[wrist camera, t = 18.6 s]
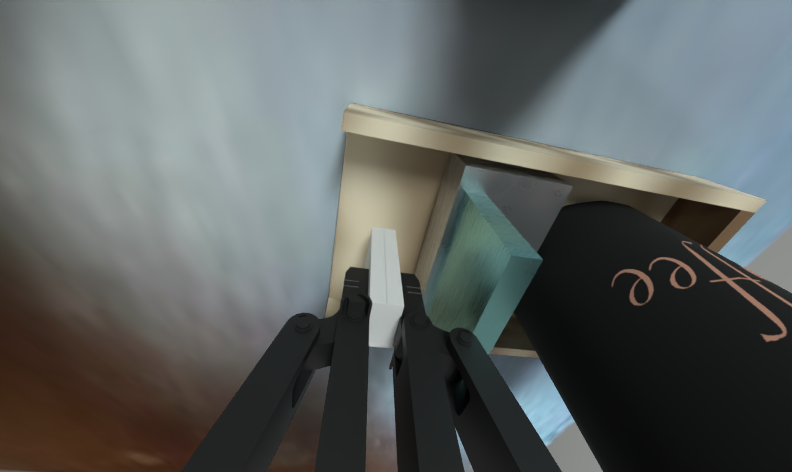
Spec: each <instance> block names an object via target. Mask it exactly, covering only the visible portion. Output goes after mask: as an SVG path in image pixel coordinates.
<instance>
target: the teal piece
mask: <svg viewBox="0 0 792 472" xmlns="http://www.w3.org/2000/svg"><path fill="white" fill-rule="evenodd" d="M572 188H573V186H572V185H571V184H569V183H567V182H566V181H564V180H562V179H560V178H559V177H557V176H555V175H554V174H552V173H550V172H547V171H542V170H537V169H532V168H527V167H522V166H517V165H512V164H507V163H502V162H496V161H491V160H486V159H481V158H476V157H471V156H466V155H461V154H456V153H451V152H450V155H449V159H448V162H447V166H446V169H445V172H444V176H443V179H442V182H441V186H440V189H439V192H438V196H437V199H436V203H435V206H434V209H433V213H432V216H431V219H430V223H429V226H428V229H427V233H426V236H425V240H424V243H423V246H422V250H421V253H420V256H419V260H418V263H417V267H416V270H415V273H414V274H415V276H416V277H417V278H418V280H419V282H420V287H421V288H420V289H421V292H422V297H423V302H424V307H425V312H426V315H427V316H428V317H429V318H430V319H431V322H432V324H433V325H434V326H436V327H438V328H440V329H442V330H445V331H448V332H451V330H452V329H454V328H457V327H459V328H465V329H467V330H469V331H471V332H472V333H473V334H474V335H475V336H476V337H477V338H478V340H479V342H480V343H481V345H482V346H483V348H484V349H485V351H486V353H487V354H488V356H489V354H490V352H491V350H492V349H493V347H494V345H495V343H496V342H497V340H498V338H499V336H500V335H501V333H502V331H503V329H504V328H505V326H506V324H507V322H508V321H509V319H510V317H511V315H512V314H513V312H514V310H515V308H516V307H517V305H518V303H519V301H520V300H521V298H522V296H523V294H524V293H525V291H526V289H527V287H528V286H529V284H530V282H531V280H532V279H533V277H534V275H535V273H536V272H537V270H538V268H539V266H540V265H541V263H542V261H543V259H542V258H541V257H540V256H539V254H538V253H537V252H538V250H539V248H540V246H541V244H542V243H543V241H544V239H545V237H546V235H547V233H548V232H549V230H550V228H551V226H552V224H553V222H554V221H555V219H556V217H557V215H558V213H559V212H560V210H561V208H562V206H563V204H564V202H565V201H566V199H567V197H568V195H569V193H570V192H571V190H572Z"/></svg>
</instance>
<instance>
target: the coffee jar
mask: <svg viewBox="0 0 792 472" xmlns="http://www.w3.org/2000/svg"><path fill="white" fill-rule="evenodd" d="M537 253H538V254H539V256H540V257H541V258H542V259H543V261H542V263H541V265H540V266H539V268H538V270H537V272H536V273H535V275H534V277H533V279H532V280H531V282H530V284H529V286H528V287H527V289H526V291H525V293H524V294H523V296H522V298H521V300H520V301H519V303H518V305H517V307H516V308H515V310H514V314H515V316H516V317H517V319H518V321H519V323H520V324H521V326H522V328H523V330H524V332H525V333H526V335H527V337H528V339H529V340H530V342H531V344H532V346H533V348H534V349H535V351H536V353H537V355H538V356H539V358H540V360H541V362H542V364H543V365H544V367H545V369H546V371H547V372H548V374H549V376H550V378H551V380H552V381H553V383H554V385H555V387H556V389H557V390H558V392H559V394H560V396H561V397H562V399H563V401H564V403H565V405H566V406H567V408H568V410H569V412H570V413H571V415H572V417H573V419H574V421H575V422H576V424H577V426H578V428H579V429H580V431H581V433H582V435H583V437H584V438H585V440H586V442H587V443H588V445H589V447H590V449H591V451H592V452H593V454H594V456H595V458H596V460H597V461H598V463H599V465H600V467H601V469H602V470H603V472H792V293H790V292H788V291H787V290H785V289H783V288H781V287H779V286H777V285H775V284H773V283H772V282H770V281H768V280H766V279H764V278H762V277H761V276H759V275H757V274H755V273H753V272H751V271H749V270H747V269H746V268H744V267H742V266H740V265H738V264H736V263H735V262H733V261H731V260H729V259H727V258H725V257H723V256H722V255H720V254H718V253H716V252H714V251H712V250H710V249H709V248H707V247H705V246H703V245H701V244H699V243H697V242H696V241H694V240H692V239H690V238H688V237H686V236H684V235H683V234H681V233H679V232H677V231H675V230H673V229H672V228H670V227H668V226H666V225H664V224H662V223H660V222H659V221H657V220H655V219H653V218H651V217H649V216H647V215H646V214H644V213H642V212H640V211H638V210H636V209H634V208H633V207H631V206H629V205H625V204H620V203H615V202H609V201H592V202H584V203H576V204H571V205H566V206H564V207H562V208H561V210H560V212H559V213H558V215H557V217H556V219H555V221H554V222H553V224H552V226H551V228H550V230H549V232H548V233H547V235H546V237H545V239H544V241H543V243H542V244H541V246H540V248H539V250H538V252H537Z"/></svg>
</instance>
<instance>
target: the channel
mask: <svg viewBox="0 0 792 472" xmlns="http://www.w3.org/2000/svg"><path fill="white" fill-rule="evenodd" d="M342 131H345V132H347V136H346V145H345V154H344V163H343V172H342V182H341V191H340V200H339V209H338V218H337V227H336V237H335V246H334V255H333V264H332V273H331V282H330V292H329V299H328V304H327V309H326V313H325V318H328V317H331V316H333V315H334V314H336V313H337V312H338V310H339V308H340V303H341V299H342V292H343V286H344V279H345V273H346V271H347V270H348V269H349V268H350V267H357V268H365V263H366V257H367V251H368V246H369V240H370V235H371V230H372V227H378V228H384V229H391V230H396V239H397V248H398V256H399V265H400V272H401V273H409V274H414V273H415V270H416V267H417V263H418V260H419V256H420V253H421V250H422V246H423V243H424V240H425V236H426V233H427V229H428V226H429V223H430V219H431V216H432V213H433V209H434V206H435V203H436V199H437V196H438V192H439V189H440V186H441V182H442V179H443V176H444V172H445V169H446V166H447V162H448V159H449V155H450V152H451V153H456V154H461V155H466V156H471V157H476V158H481V159H486V160H491V161H496V162H502V163H507V164H512V165H517V166H522V167H527V168H532V169H537V170H542V171H547V172H550V173H552V174H554V175H555V176H557V177H559V178H560V179H562V180H564V181H566V182H567V183H569V184H571V185H572V186H573V188H572V190H571V192H570V193H569V195H568V197H567V199H566V201H565V202H564V204H563V206H562V207H564V206H566V205H571V204H576V203H584V202H592V201H609V202H615V203H620V204H625V205H629V206H631V207H633V208H634V209H636V210H638V211H640V212H642V213H644V214H646V215H647V216H649V217H651V218H653V219H655V220H657V221H659V222H660V223H662V224H664V225H666V226H668V227H670V228H672V229H673V230H675V231H677V232H679V233H681V234H683V235H684V236H686V237H688V238H690V239H692V240H694V241H696V242H697V243H699V244H701V245H703V246H705V247H707V248H709V249H710V250H712V251H714V252H716V253H718V252H719V251H720V250H721V249H722V248H723V247H724V245H725V244H726V243H727V242H728V241H729V240H730V239H731V238H732V237H733V236H734V235H735V234H736V233H737V232H738V231H739V230H740V228H741V227H742V226H743V225H744V224H745V223H746V222H747V221H748V220H749V219H750V218H751V217H752V216H753V215H754V214H755V213H756V211H757V210H758V209H759V208H760V207H761V206H762V205H763V204H764V203H765V202H766V201H767V200H765V199H762V198H759V197H756V196H753V195H750V194H747V193H744V192H741V191H738V190H735V189H732V188H729V187H726V186H723V185H720V184H717V183H714V182H711V181H708V180H705V179H702V178H699V177H695V176H690V175H685V174H681V173H676V172H671V171H667V170H662V169H657V168H653V167H648V166H643V165H639V164H634V163H629V162H625V161H620V160H615V159H611V158H606V157H601V156H597V155H592V154H587V153H583V152H578V151H573V150H569V149H564V148H559V147H555V146H550V145H545V144H541V143H536V142H531V141H527V140H522V139H517V138H513V137H508V136H503V135H499V134H494V133H489V132H485V131H480V130H475V129H471V128H466V127H461V126H457V125H452V124H447V123H443V122H438V121H433V120H429V119H424V118H419V117H415V116H410V115H405V114H401V113H396V112H391V111H387V110H382V109H377V108H373V107H368V106H363V105H359V104H354V103H350V105H349V106H348V107H347V108H346V110H345V111H344V112H343V122H342ZM393 346H394V343H393ZM490 354H496V355H508V356H520V357H532V358H539V356H538V355H537V353H536V351H535V349H534V348H533V346H532V344H531V342H530V340H529V339H528V337H527V335H526V333H525V332H524V330H523V328H522V326H521V324H520V323H519V321H518V319H517V317H516V316H515V314H514V312H513V314H512V315H511V317H510V319H509V321H508V322H507V324H506V326H505V328H504V329H503V331H502V333H501V335H500V336H499V338H498V340H497V342H496V343H495V345H494V347H493V349H492V350H491V352H490Z"/></svg>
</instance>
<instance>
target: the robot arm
mask: <svg viewBox="0 0 792 472" xmlns="http://www.w3.org/2000/svg"><path fill="white" fill-rule="evenodd" d="M420 288H421V287H420V282H419V280H418V278H417V277H416V276H415V274H409V273H401V272H400V265H399V256H398V248H397V239H396V230H391V229H384V228H378V227H372V230H371V235H370V240H369V246H368V251H367V257H366V263H365V268H357V267H350V268H349V269H348V270H347V271H346V273H345V279H344V286H343V292H342V299H341V303H340V308H339V310H338V312H337V313H336V314H334V315H333V316H331V317H328V318H323V319H318V318H317V317H316V316H315V315H313V314H310V313H300V314H296V315H294V316H292V317H291V318H290V319H289V320H288V321H287V322H286V324H285V325H284V327H283V328H282V329H281V331H280V332H279V334H278V335H277V336H276V338H275V339H274V341H273V342H272V344H271V345H270V346H269V348H268V349H267V351H266V352H265V353H264V355H263V356H262V358H261V359H260V361H259V362H258V363H257V365H256V366H255V368H254V369H253V370H252V372H251V373H250V375H249V376H248V378H247V379H246V380H245V382H244V383H243V385H242V386H241V387H240V389H239V390H238V392H237V393H236V395H235V396H234V397H233V399H232V400H231V402H230V403H229V404H228V406H227V407H226V409H225V410H224V412H223V413H222V414H221V416H220V417H219V419H218V420H217V421H216V423H215V424H214V426H213V427H212V429H211V430H210V431H209V433H208V434H207V436H206V437H205V438H204V440H203V441H202V443H201V444H200V445H199V447H198V448H197V450H196V451H195V453H194V454H193V455H192V457H191V458H190V460H189V461H188V462H187V464H186V465H185V467H184V468H183V470H182V471H181V472H267V469H268V467H269V465H270V463H271V461H272V459H273V457H274V455H275V453H276V451H277V449H278V447H279V445H280V443H281V441H282V438H283V436H284V434H285V432H286V430H287V428H288V426H289V424H290V422H291V420H292V418H293V416H294V414H295V412H296V409H297V407H298V405H299V403H300V401H301V399H302V397H303V395H304V393H305V391H306V389H307V387H308V385H309V383H310V381H311V378H312V376H313V374H314V372H315V370H316V369H319V368H323V367H327V366H331V368H330V375H329V381H328V388H327V394H326V401H325V407H324V414H323V420H322V427H321V433H320V439H319V446H318V452H317V459H316V465H315V472H365V461H366V426H367V391H368V355H369V346H372V347H383V348H392V346H393V343H394V353H393V356H392V359H391V363H390V367H389V369H392V366H393V384H394V404H395V424H396V444H397V464H398V472H464V467H463V463H462V458H461V454H460V449H459V444H458V440H457V435H456V430H457V433H458V435H459V437H460V440H461V442H462V444H463V447H464V449H465V451H466V454H467V456H468V459H469V461H470V463H471V466H472V468H473V470H474V472H561V470H560V468H559V466H558V465H557V463H556V462H555V460H554V459H553V457H552V456H551V454H550V452H549V451H548V449H547V447H546V446H545V444H544V443H543V441H542V440H541V438H540V436H539V435H538V433H537V432H536V430H535V428H534V427H533V425H532V424H531V422H530V421H529V419H528V417H527V416H526V414H525V413H524V411H523V410H522V408H521V406H520V405H519V403H518V402H517V400H516V398H515V397H514V395H513V394H512V392H511V391H510V389H509V387H508V386H507V384H506V383H505V381H504V379H503V378H502V376H501V375H500V373H499V372H498V370H497V368H496V367H495V365H494V364H493V362H492V361H491V359H490V357H489V356H488V354H487V353H486V351H485V349H484V348H483V346H482V345H481V343H480V342H479V340H478V338H477V337H476V336H475V335H474V334H473V333H472V332H471V331H469V330H467V329H465V328H459V327H457V328H454V329H452V330H451V332H448V331H445V330H442V329H440V328H438V327H436V326H434V325H433V324H432V322H431V319H430V318H429V317H428V316H427V315H426V312H425V307H424V302H423V297H422V292H421V289H420ZM454 425H455V426H454ZM455 428H456V430H455Z"/></svg>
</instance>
